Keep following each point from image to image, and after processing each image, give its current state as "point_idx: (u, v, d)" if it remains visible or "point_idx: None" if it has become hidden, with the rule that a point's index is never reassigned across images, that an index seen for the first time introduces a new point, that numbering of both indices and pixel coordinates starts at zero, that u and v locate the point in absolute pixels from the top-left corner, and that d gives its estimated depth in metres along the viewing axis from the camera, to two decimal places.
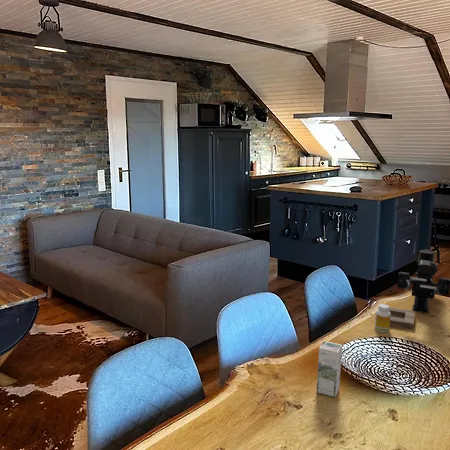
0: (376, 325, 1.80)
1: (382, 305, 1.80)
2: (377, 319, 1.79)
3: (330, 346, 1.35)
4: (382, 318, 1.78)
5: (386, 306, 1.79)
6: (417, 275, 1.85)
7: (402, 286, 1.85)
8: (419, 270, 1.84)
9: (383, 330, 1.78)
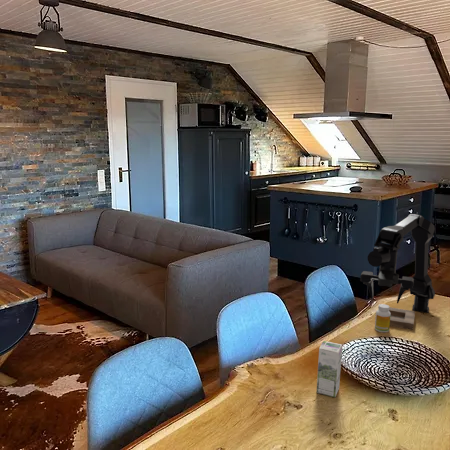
0: (376, 325, 1.80)
1: (382, 305, 1.80)
2: (377, 319, 1.79)
3: (330, 346, 1.35)
4: (382, 318, 1.78)
5: (386, 306, 1.79)
6: None
7: None
8: None
9: (383, 330, 1.78)
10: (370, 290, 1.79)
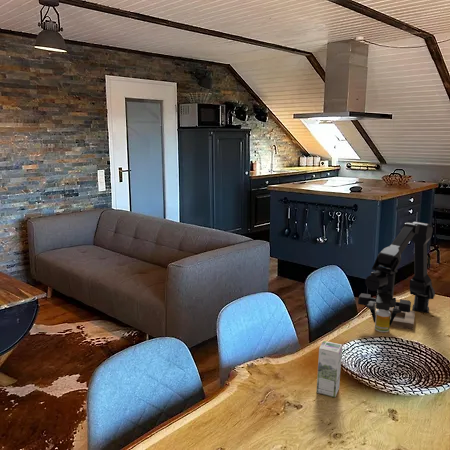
0: (376, 325, 1.80)
1: None
2: (377, 319, 1.79)
3: (330, 346, 1.35)
4: (382, 318, 1.78)
5: None
6: None
7: None
8: None
9: (383, 330, 1.78)
10: (372, 313, 1.80)
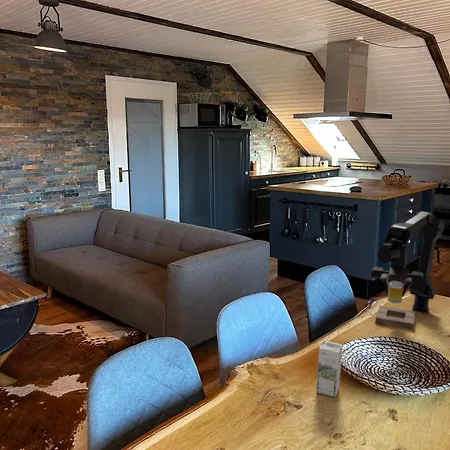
0: (389, 297, 1.85)
1: None
2: (390, 291, 1.84)
3: (330, 346, 1.35)
4: (395, 290, 1.83)
5: None
6: None
7: None
8: None
9: (396, 301, 1.84)
10: (385, 286, 1.85)
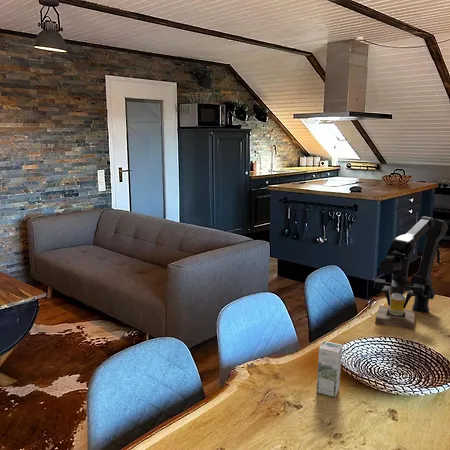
0: (391, 308, 1.89)
1: None
2: (392, 303, 1.88)
3: (330, 346, 1.35)
4: (397, 302, 1.86)
5: None
6: None
7: None
8: None
9: (398, 313, 1.87)
10: (387, 297, 1.89)
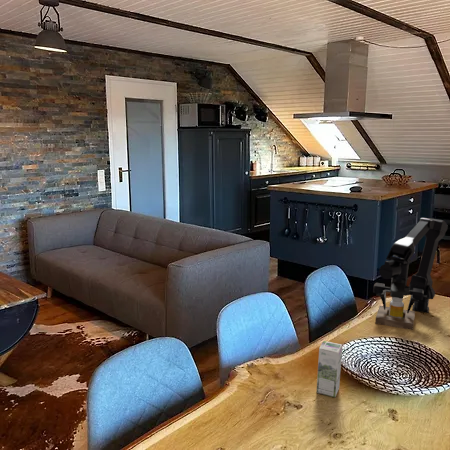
0: (390, 315, 1.89)
1: None
2: (391, 309, 1.88)
3: (330, 346, 1.35)
4: (396, 308, 1.87)
5: None
6: None
7: None
8: None
9: None
10: (383, 301, 1.90)
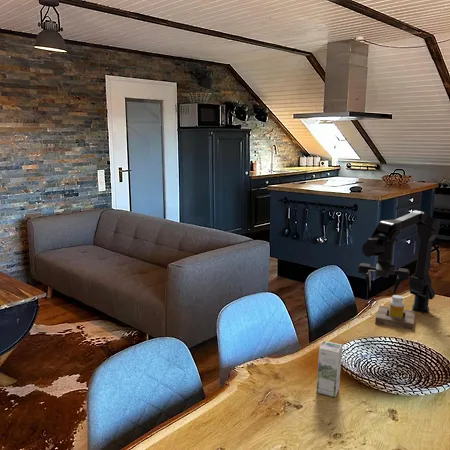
0: (390, 315, 1.89)
1: (396, 296, 1.89)
2: (391, 309, 1.88)
3: (330, 346, 1.35)
4: (396, 308, 1.87)
5: (400, 297, 1.88)
6: None
7: None
8: None
9: None
10: (367, 281, 1.86)
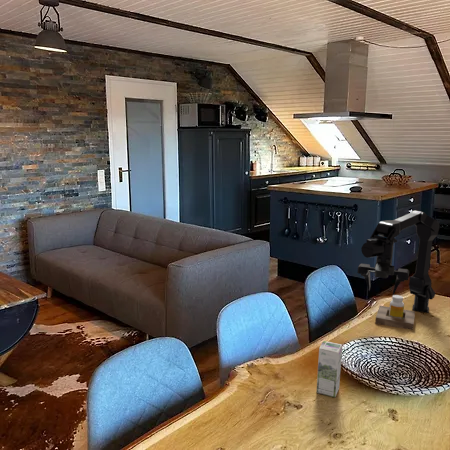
0: (390, 315, 1.89)
1: (396, 296, 1.89)
2: (391, 309, 1.88)
3: (330, 346, 1.35)
4: (396, 308, 1.87)
5: (400, 297, 1.88)
6: None
7: None
8: None
9: None
10: (367, 282, 1.86)
